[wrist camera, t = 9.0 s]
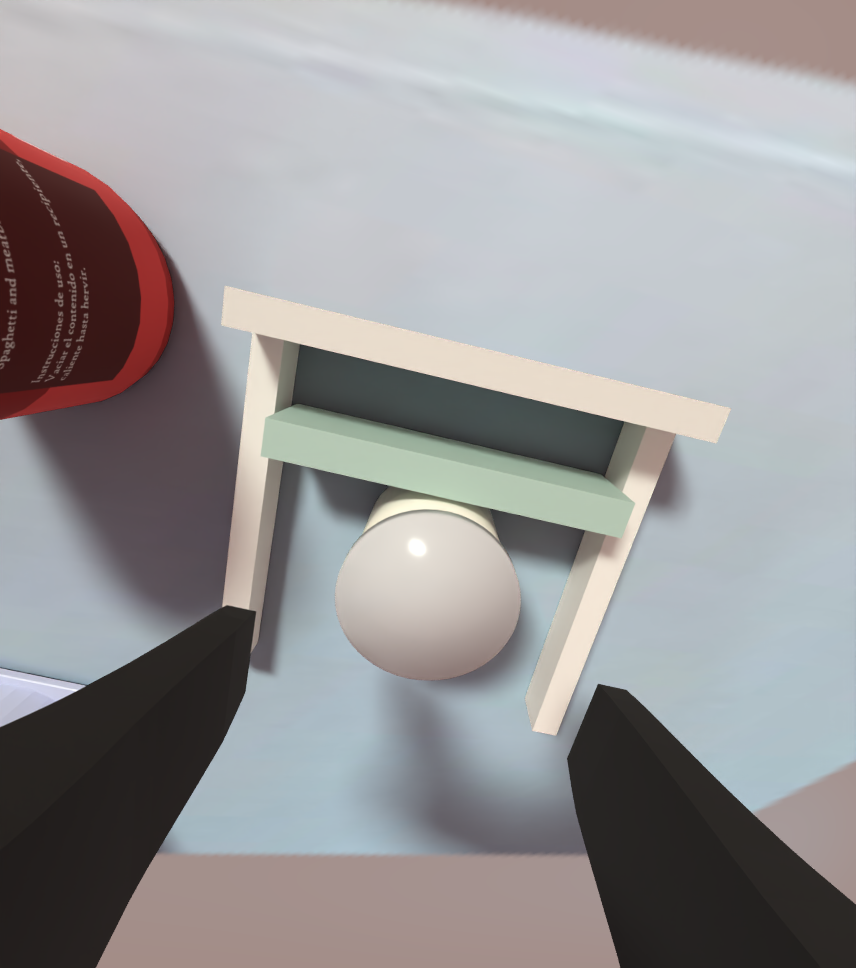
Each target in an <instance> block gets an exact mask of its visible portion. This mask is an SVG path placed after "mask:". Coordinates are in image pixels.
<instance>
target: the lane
mask: <svg viewBox="0 0 856 968" xmlns="http://www.w3.org/2000/svg"><path fill="white" fill-rule="evenodd" d="M221 325H223V326H227V327H231V328H235V329H240V330H244V331H248V332H252V342H251V351H250V360H249V369H248V378H247V387H246V396H245V405H244V414H243V423H242V432H241V441H240V451H239V460H238V469H237V478H236V487H235V496H234V505H233V514H232V523H231V532H230V541H229V550H228V559H227V568H226V577H225V586H224V595H223V604H222V607H224V606H226V605H229V606H234V607H238V608H243V609H248V610H253V611H256V618H255V625H254V632H253V640H252V647H251V653H252V651H253V649H254V648H255V646H256V644H257V643H258V638H259V631H260V624H261V617H262V610H263V603H264V596H265V588H266V581H267V574H268V567H269V560H270V553H271V546H272V539H273V532H274V525H275V517H276V510H277V503H278V496H279V489H280V482H281V475H282V468H283V461H279V460H275V459H271V458H266V457H262V456H261V449H262V441H263V433H264V425H265V418H266V417H268V416H270V415H273V414H275V413H277V412H279V411H282V410H284V409H286V408H289V407H291V404H292V397H293V390H294V383H295V375H296V368H297V361H298V354H299V347H300V344H303V345H307V346H311V347H315V348H319V349H323V350H328V351H332V352H336V353H340V354H344V355H349V356H353V357H357V358H361V359H365V360H370V361H374V362H378V363H382V364H386V365H391V366H395V367H399V368H403V369H407V370H411V371H416V372H420V373H424V374H428V375H432V376H437V377H441V378H445V379H449V380H453V381H458V382H462V383H466V384H470V385H474V386H479V387H483V388H487V389H491V390H495V391H500V392H504V393H508V394H512V395H516V396H520V397H525V398H529V399H533V400H537V401H541V402H546V403H550V404H554V405H558V406H562V407H567V408H571V409H575V410H579V411H583V412H588V413H592V414H596V415H600V416H604V417H608V418H613V419H617V420H621V421H625V422H624V425H623V427H622V430H621V433H620V436H619V439H618V441H617V444H616V447H615V450H614V452H613V455H612V458H611V461H610V463H609V466H608V469H607V472H606V475H605V478H606V479H607V480H608V481H609V482H611V483H612V484H613V485H614V486H615V487H617V488H618V489H619V490H620V491H621V492H623V493H624V494H625V495H626V496H627V497H629V498H630V499H631V500H632V501H633V502H635V505H634V508H633V511H632V513H631V516H630V518H629V521H628V523H627V526H626V529H625V531H624V534H623V536H622V538H618V537H613V536H609V535H605V534H600V533H596V532H591V531H587V530H585V533H584V535H583V538H582V541H581V544H580V547H579V549H578V552H577V555H576V558H575V560H574V563H573V566H572V569H571V571H570V574H569V577H568V580H567V583H566V585H565V588H564V591H563V594H562V596H561V599H560V602H559V605H558V607H557V610H556V613H555V616H554V619H553V621H552V624H551V627H550V630H549V632H548V635H547V638H546V641H545V643H544V646H543V649H542V652H541V655H540V657H539V660H538V663H537V666H536V668H535V671H534V674H533V677H532V679H531V682H530V685H529V688H528V691H527V693H526V696H525V701H526V706H527V710H528V714H529V718H530V723H531V727H532V731H536V732H541V733H546V734H551V735H556V734H557V732H558V729H559V727H560V724H561V722H562V719H563V717H564V714H565V712H566V709H567V707H568V704H569V702H570V699H571V697H572V694H573V692H574V689H575V687H576V684H577V682H578V679H579V677H580V674H581V671H582V669H583V666H584V664H585V661H586V659H587V656H588V654H589V651H590V649H591V646H592V644H593V641H594V639H595V636H596V634H597V631H598V629H599V626H600V624H601V621H602V619H603V616H604V614H605V611H606V609H607V606H608V604H609V601H610V599H611V596H612V594H613V591H614V589H615V586H616V584H617V581H618V579H619V576H620V574H621V571H622V569H623V566H624V563H625V561H626V558H627V556H628V553H629V551H630V548H631V546H632V543H633V541H634V538H635V536H636V533H637V531H638V528H639V526H640V523H641V521H642V518H643V516H644V513H645V511H646V508H647V506H648V503H649V501H650V498H651V496H652V493H653V491H654V488H655V486H656V483H657V481H658V478H659V476H660V473H661V471H662V468H663V466H664V463H665V460H666V458H667V455H668V453H669V450H670V448H671V445H672V443H673V440H674V438H675V435H676V434H680V435H684V436H688V437H692V438H696V439H701V440H705V441H709V442H713V443H717V441H718V438H719V436H720V434H721V431H722V429H723V427H724V424H725V422H726V420H727V417H728V415H729V413H730V410H731V408H727V407H723V406H719V405H715V404H711V403H707V402H703V401H699V400H694V399H690V398H686V397H682V396H678V395H674V394H670V393H665V392H661V391H657V390H653V389H649V388H645V387H641V386H637V385H632V384H628V383H624V382H620V381H616V380H612V379H608V378H604V377H599V376H595V375H591V374H587V373H583V372H579V371H575V370H571V369H566V368H562V367H558V366H554V365H550V364H546V363H542V362H538V361H533V360H529V359H525V358H521V357H517V356H513V355H509V354H504V353H500V352H496V351H492V350H488V349H484V348H480V347H476V346H471V345H467V344H463V343H459V342H455V341H451V340H447V339H443V338H438V337H434V336H430V335H426V334H422V333H418V332H414V331H410V330H405V329H401V328H397V327H393V326H389V325H385V324H381V323H377V322H372V321H368V320H364V319H360V318H356V317H352V316H348V315H343V314H339V313H335V312H331V311H327V310H323V309H319V308H315V307H310V306H306V305H302V304H298V303H294V302H290V301H286V300H282V299H277V298H273V297H269V296H265V295H261V294H257V293H253V292H249V291H244V290H240V289H236V288H232V287H228V286H225V289H224V300H223V311H222V322H221Z"/></svg>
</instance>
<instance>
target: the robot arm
mask: <svg viewBox="0 0 856 968" xmlns="http://www.w3.org/2000/svg"><path fill="white" fill-rule="evenodd" d="M255 618H256V611H253V610H248V609H243V608H238V607H234V606H229V605H226V606H224V607H222V608H221V609H219V610H217V611H216V612H214V613H212V614H210V615H209V616H207V617H205V618H204V619H202V620H200V621H199V622H197V623H196V624H194V625H192V626H191V627H189V628H187V629H186V630H184V631H182V632H181V633H179V634H178V635H176V636H174V637H173V638H171V639H169V640H168V641H166V642H164V643H163V644H161V645H159V646H157V647H156V648H154V649H152V650H151V651H149V652H147V653H145V654H144V655H142V656H140V657H139V658H137V659H135V660H133V661H132V662H130V663H128V664H126V665H125V666H123V667H121V668H119V669H117V670H115V671H113V672H111V673H110V674H108V675H106V676H104V677H102V678H100V679H98V680H96V681H95V682H93V683H91V684H89V685H87V686H85V685H80V684H75V683H70V682H65V681H61V680H56V679H51V678H46V677H41V676H36V675H31V674H26V673H21V672H16V671H11V670H6V669H2V668H0V968H96V966H97V964H98V962H99V960H100V958H101V956H102V954H103V952H104V950H105V948H106V946H107V944H108V942H109V940H110V938H111V936H112V934H113V932H114V930H115V928H116V926H117V924H118V922H119V920H120V918H121V916H122V914H123V912H124V910H125V908H126V906H127V904H128V902H129V900H130V898H131V897H132V895H133V893H134V891H135V889H136V888H137V886H138V884H139V882H140V880H141V879H142V877H143V875H144V873H145V871H146V870H147V868H148V866H149V864H150V863H151V861H152V860H153V858H154V856H155V855H156V853H157V851H158V850H159V848H160V846H161V845H162V843H163V841H164V840H165V838H166V836H167V835H168V833H169V831H170V830H171V828H172V826H173V825H174V823H175V821H176V820H177V818H178V816H179V815H180V813H181V811H182V810H183V808H184V806H185V805H186V803H187V801H188V800H189V798H190V796H191V795H192V793H193V791H194V790H195V788H196V786H197V785H198V783H199V781H200V779H201V778H202V776H203V774H204V773H205V771H206V769H207V768H208V766H209V764H210V763H211V761H212V759H213V758H214V756H215V754H216V752H217V751H218V749H219V747H220V746H221V744H222V742H223V740H224V738H225V736H226V734H227V731H228V729H229V727H230V725H231V723H232V721H233V719H234V716H235V714H236V712H237V710H238V708H239V705H240V703H241V701H242V699H243V696H244V694H245V691H246V684H247V676H248V669H249V662H250V654H251V647H252V640H253V632H254V625H255ZM567 760H568V767H569V774H570V780H571V787H572V792H573V798H574V803H575V809H576V814H577V818H578V821H579V825H580V829H581V832H582V836H583V839H584V843H585V846H586V850H587V853H588V857H589V860H590V864H591V867H592V871H593V874H594V877H595V881H596V884H597V888H598V891H599V894H600V898H601V901H602V905H603V908H604V912H605V915H606V918H607V922H608V925H609V929H610V932H611V936H612V939H613V942H614V946H615V949H616V953H617V956H618V960H619V964H620V968H856V904H854V903H853V902H852V901H851V900H850V899H848V898H847V897H846V896H845V895H844V894H843V893H841V892H840V891H839V890H838V889H837V888H835V887H834V886H833V885H832V884H831V883H829V882H828V881H827V880H826V879H825V878H824V877H822V876H821V875H820V874H819V873H818V872H816V871H815V870H814V869H813V868H812V867H811V866H809V865H808V864H807V863H806V862H805V861H804V860H803V859H802V858H800V857H799V856H798V855H797V854H796V853H795V852H794V851H792V850H791V849H790V848H789V847H788V846H787V845H786V844H785V843H784V842H783V841H781V840H780V839H779V838H778V837H777V836H776V835H775V834H774V833H773V832H772V831H771V830H770V829H769V828H767V827H766V826H765V825H764V824H763V823H762V822H761V821H760V820H759V819H758V818H757V817H756V816H755V815H753V814H752V813H751V812H750V811H749V810H748V809H747V808H746V807H745V806H744V805H743V804H742V803H741V802H740V801H739V800H738V799H737V798H736V797H735V796H734V795H732V794H731V793H730V792H729V791H728V790H727V789H726V788H725V787H724V786H723V785H722V784H721V783H720V782H719V781H718V780H717V779H716V778H715V777H714V776H713V775H712V774H711V773H710V772H709V771H708V770H707V769H706V768H705V767H704V766H703V765H702V764H701V763H700V762H699V761H698V760H697V759H696V758H695V757H694V756H693V755H692V754H691V753H690V752H689V751H688V750H687V749H686V748H685V747H684V746H683V745H682V744H681V743H680V742H679V741H678V740H677V739H676V738H675V737H674V736H673V735H672V734H671V733H670V732H669V731H668V730H667V729H666V728H665V727H664V726H663V725H662V724H661V723H660V722H659V721H658V720H657V719H656V718H655V717H654V716H653V715H652V714H651V713H650V712H649V711H648V710H647V709H646V708H645V707H644V706H643V705H642V704H641V703H640V702H639V701H638V700H637V699H636V698H635V697H634V696H632V695H631V694H630V693H629V692H628V691H627V690H624V689H619V688H615V687H610V686H605V685H601V684H598V685H597V688H596V690H595V693H594V695H593V697H592V700H591V702H590V705H589V707H588V709H587V712H586V714H585V717H584V719H583V722H582V724H581V726H580V729H579V731H578V734H577V736H576V738H575V741H574V743H573V746H572V748H571V751H570V753H569V755H568V758H567Z"/></svg>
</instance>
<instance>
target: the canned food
mask: <svg viewBox="0 0 856 968" xmlns="http://www.w3.org/2000/svg"><path fill="white" fill-rule="evenodd" d="M173 315H174V295H173V287H172V280H171V277H170V273H169V270H168V267H167V264H166V260H165V258H164V256H163V254H162V252H161V250H160V248H159V246H158V244H157V242H156V240H155V238H154V236H153V235H152V234H151V232H150V231H149V230H148V228H147V227H146V225H145V224H144V223H143V221H142V220H141V219H140V217H139V216H138V215H137V214H136V213H135V212H134V211H133V210H132V209H131V208H130V206H129V205H128V204H127V203H126V202H124V201H123V200H122V199H121V198H120V197H119V196H118V195H117V194H116V193H115V192H114V191H113V190H112V189H111V188H110V187H109V186H108V185H106V184H105V183H103V182H102V181H100V180H99V179H97V178H96V177H94V176H93V175H91V174H90V173H88V172H87V171H85V170H83V169H81V168H79V167H77V166H75V165H73V164H71V163H69V162H67V161H65V160H63V159H61V158H59V157H57V156H54V155H52V154H50V153H48V152H46V151H44V150H42V149H40V148H38V147H36V146H34V145H32V144H30V143H28V142H26V141H24V140H22V139H19V138H17V137H15V136H13V135H11V134H9V133H7V132H5V131H3V130H1V129H0V420H2V419H7V418H13V417H18V416H23V415H29V414H34V413H40V412H45V411H51V410H56V409H61V408H67V407H72V406H78V405H83V404H88V403H93V402H99V401H103V400H105V399H108V398H110V397H112V396H115V395H117V394H119V393H121V392H123V391H124V390H126V389H127V388H128V387H130V386H131V385H132V384H134V383H135V382H137V381H138V380H139V379H140V378H142V377H143V376H144V375H146V374H147V373H148V372H149V370H150V369H151V368H152V367H153V366H154V365H155V363H156V362H157V361H158V360H159V358H160V356H161V354H162V352H163V351H164V349H165V347H166V345H167V343H168V339H169V336H170V332H171V329H172V325H173Z"/></svg>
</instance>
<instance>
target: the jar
mask: <svg viewBox="0 0 856 968" xmlns="http://www.w3.org/2000/svg"><path fill="white" fill-rule="evenodd" d="M335 606H336V612H337V616H338V619H339V622H340V625H341V627H342V629H343V632H344V634H345V635H346V637H347V638H348V640H349V641H350V643H351V644H352V645H353V647H354V648H355V649H356V650H357V651H358V652H359V653H360V654H361V655H362V656H363V657H365V658H366V659H367V660H368V661H370V662H371V663H373V664H374V665H376V666H377V667H379V668H381V669H383V670H385V671H387V672H390V673H392V674H395V675H397V676H401V677H405V678H409V679H416V680H443V679H449V678H454V677H457V676H461V675H464V674H467V673H469V672H471V671H474V670H476V669H477V668H479V667H481V666H483V665H484V664H486V663H487V662H488V661H490V660H491V659H492V658H494V657H495V656H496V655H497V654H498V653H499V652H500V651H501V650H502V648H503V647H504V646H505V645H506V643H507V642H508V640H509V639H510V637H511V635H512V634H513V632H514V629H515V627H516V625H517V622H518V618H519V614H520V606H521V594H520V587H519V582H518V578H517V575H516V572H515V569H514V566H513V564H512V561H511V559H510V557H509V555H508V553H507V551H506V550H505V548H504V547H503V546H502V544H501V543H500V541H499V538H498V535H497V531H496V528H495V524H494V521H493V518H492V514H491V512H490V509H489V508H486V507H481V506H477V505H473V504H468V503H464V502H460V501H455V500H451V499H446V498H442V497H438V496H433V495H429V494H424V493H420V492H416V491H411V490H407V489H402V488H398V487H394V486H389V487H388V488H387V489H386V490H385V491H384V492H383V493H382V494H381V496H380V497H379V498H378V500H377V501H376V503H375V505H374V507H373V509H372V511H371V514H370V516H369V519H368V521H367V524H366V526H365V529H364V531H363V534H362V535H361V536H360V537H359V538H358V540H357V541H356V542H355V543H354V544H353V546H352V547H351V549H350V551H349V552H348V554H347V556H346V558H345V561H344V563H343V565H342V568H341V570H340V572H339V575H338V579H337V583H336V590H335Z"/></svg>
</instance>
